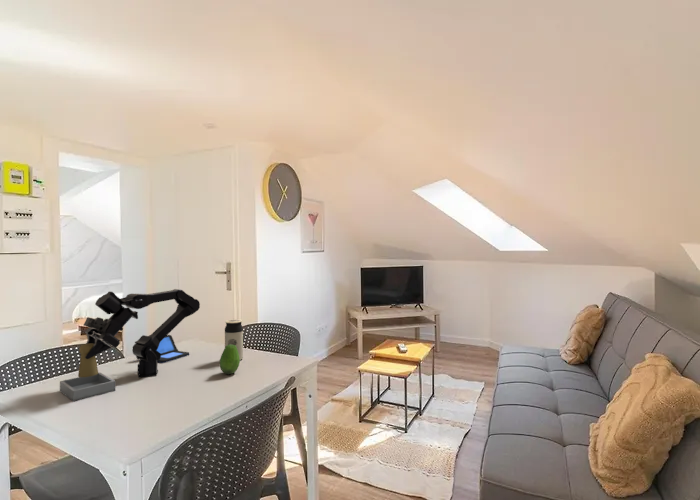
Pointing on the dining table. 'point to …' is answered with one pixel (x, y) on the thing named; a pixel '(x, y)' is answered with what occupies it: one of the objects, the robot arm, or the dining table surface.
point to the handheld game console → (169, 350)
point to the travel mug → (234, 335)
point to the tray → (87, 386)
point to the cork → (87, 362)
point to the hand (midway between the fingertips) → (83, 357)
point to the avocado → (229, 359)
